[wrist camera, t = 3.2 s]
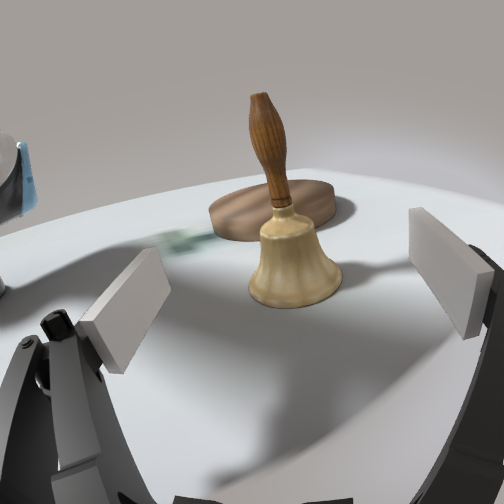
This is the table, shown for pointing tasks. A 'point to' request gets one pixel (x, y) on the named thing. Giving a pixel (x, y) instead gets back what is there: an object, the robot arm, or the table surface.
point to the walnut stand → (269, 208)
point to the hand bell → (285, 227)
